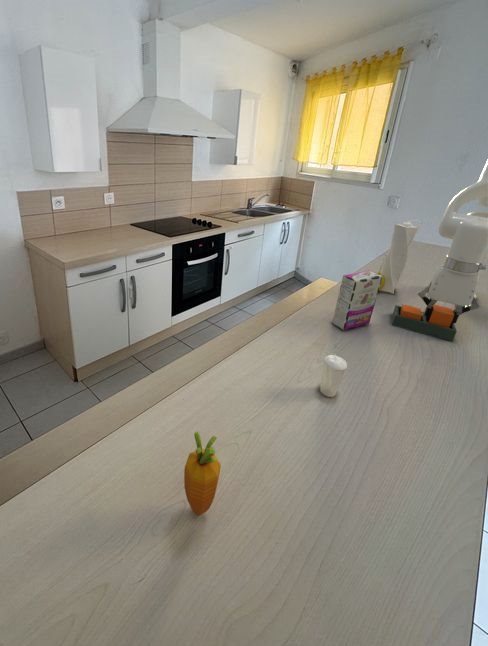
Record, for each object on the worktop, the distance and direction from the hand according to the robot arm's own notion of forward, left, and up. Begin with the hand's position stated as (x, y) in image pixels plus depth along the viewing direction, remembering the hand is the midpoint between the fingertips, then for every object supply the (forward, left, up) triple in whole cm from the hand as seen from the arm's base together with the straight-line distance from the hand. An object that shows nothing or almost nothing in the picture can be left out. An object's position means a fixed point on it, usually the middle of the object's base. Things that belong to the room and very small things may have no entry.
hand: (438, 320), depth 97 cm
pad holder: (0, -4, -4) cm, 5 cm away
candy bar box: (+11, -23, -4) cm, 25 cm away
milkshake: (+46, -24, -4) cm, 52 cm away
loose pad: (0, 0, -1) cm, 1 cm away
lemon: (-20, -18, -4) cm, 27 cm away
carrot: (+84, -36, -4) cm, 91 cm away
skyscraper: (-25, -14, -4) cm, 29 cm away
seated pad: (0, -7, -3) cm, 8 cm away
